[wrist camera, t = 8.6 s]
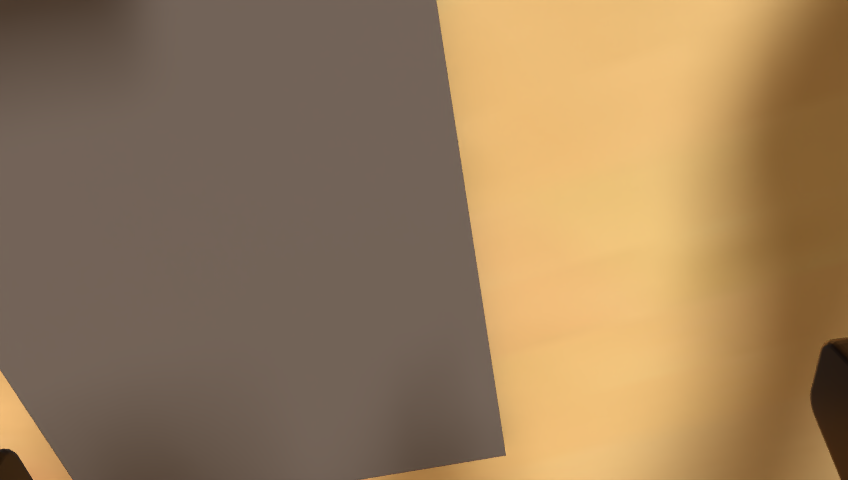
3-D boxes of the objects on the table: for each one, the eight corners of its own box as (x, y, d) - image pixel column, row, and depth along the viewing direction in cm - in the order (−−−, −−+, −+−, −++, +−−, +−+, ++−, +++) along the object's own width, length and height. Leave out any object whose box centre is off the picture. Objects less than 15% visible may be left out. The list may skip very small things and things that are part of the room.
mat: (417, -118, 17) (418, -112, 16) (503, 441, 27) (505, 455, 26) (-219, 2, 17) (-236, 11, 17) (105, 507, 27) (101, 522, 27)
